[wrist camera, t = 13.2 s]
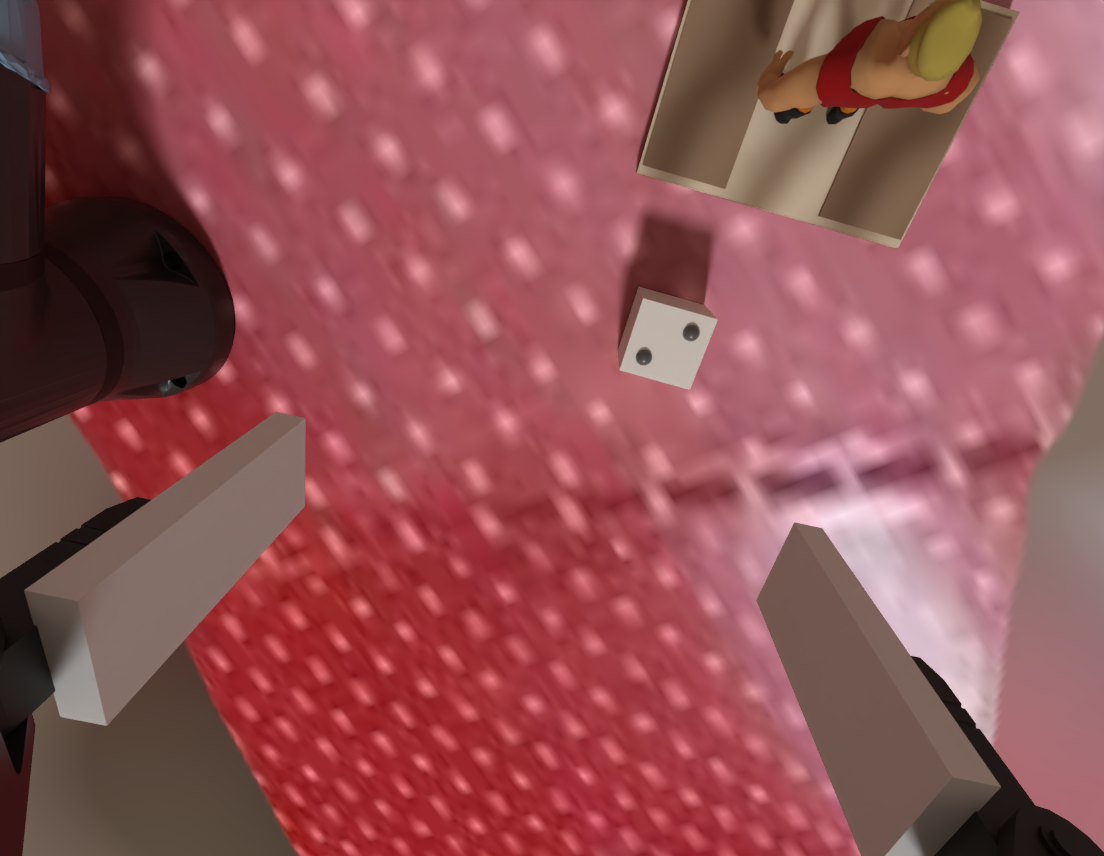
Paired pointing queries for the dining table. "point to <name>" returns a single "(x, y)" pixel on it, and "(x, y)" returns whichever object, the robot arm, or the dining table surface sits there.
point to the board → (806, 142)
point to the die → (665, 338)
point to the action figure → (883, 66)
